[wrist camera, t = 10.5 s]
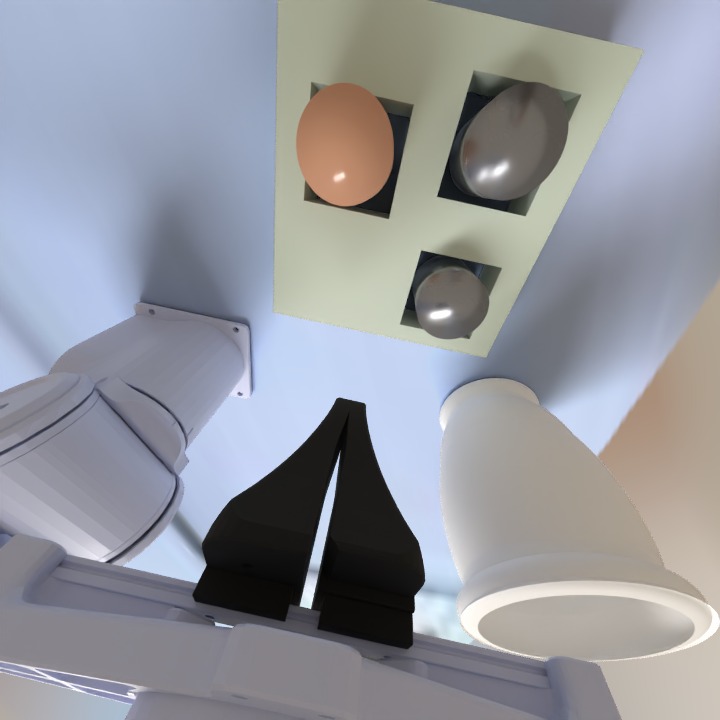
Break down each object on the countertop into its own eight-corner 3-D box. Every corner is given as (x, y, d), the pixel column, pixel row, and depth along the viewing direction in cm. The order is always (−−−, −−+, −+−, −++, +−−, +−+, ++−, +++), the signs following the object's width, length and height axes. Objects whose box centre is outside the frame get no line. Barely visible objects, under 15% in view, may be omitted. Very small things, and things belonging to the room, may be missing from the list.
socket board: (287, 297, 22) (273, 312, 19) (299, 6, 14) (278, -35, 11) (475, 337, 22) (485, 357, 19) (598, 74, 14) (644, 49, 11)
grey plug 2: (439, 188, 17) (452, 190, 13) (465, 100, 15) (490, 71, 11) (504, 203, 17) (536, 208, 13) (539, 117, 15) (590, 94, 11)
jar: (560, 358, 22) (783, 592, 9) (541, 447, 27) (669, 674, 15) (423, 372, 24) (457, 579, 11) (430, 452, 29) (459, 655, 17)
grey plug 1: (405, 304, 21) (408, 331, 17) (421, 249, 19) (429, 265, 15) (457, 316, 21) (472, 345, 17) (480, 262, 19) (502, 281, 15)
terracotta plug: (316, 193, 16) (293, 195, 12) (324, 102, 14) (299, 71, 10) (384, 207, 16) (381, 215, 12) (402, 119, 14) (405, 95, 10)
